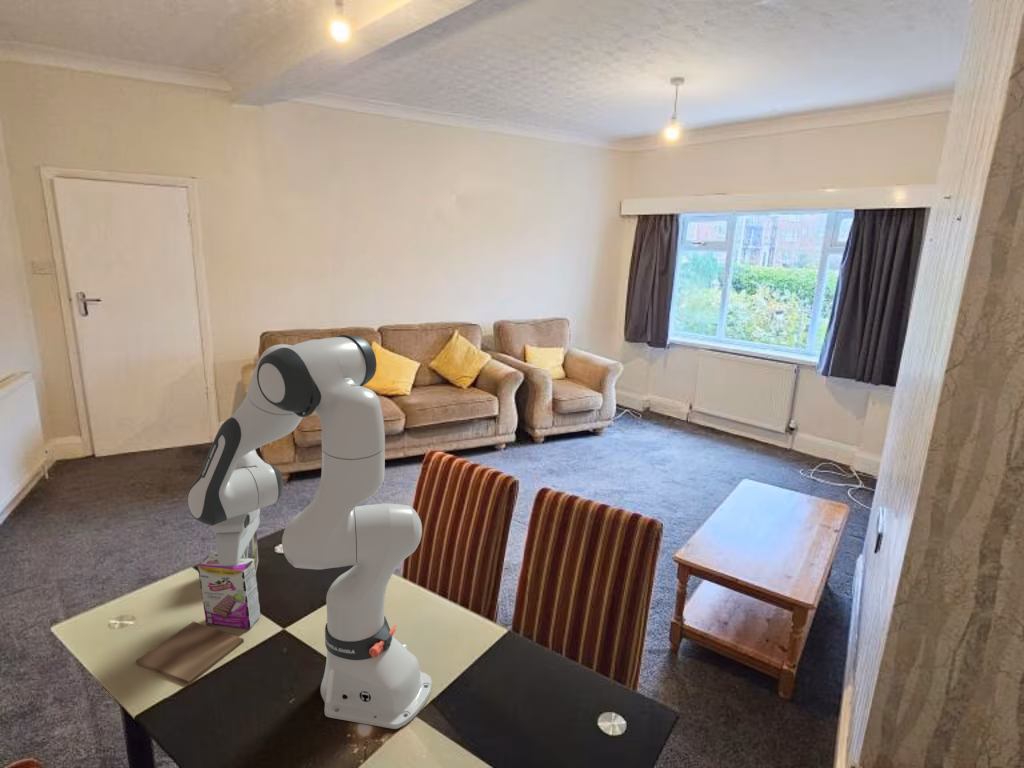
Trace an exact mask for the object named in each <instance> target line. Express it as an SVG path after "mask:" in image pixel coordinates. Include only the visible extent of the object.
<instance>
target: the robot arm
mask: <svg viewBox="0 0 1024 768" xmlns="http://www.w3.org/2000/svg"><path fill="white" fill-rule="evenodd" d="M376 357H377V356H376V355H375V351H374V349H373V347H372V345H370V343H369V342H368V341H367V340H366V339H365V338H363V337H361V336H358V335H352V334H342V335H341V334H340V335H337V336H334V337H325V338H319V339H315V338H314V339H310V340H306V341H302V342H298V343H295V344H292V345H291V344H287V343H283V344H282V343H280V344H279V343H278V344H275V345H272V346H270V347H268V348H267V349H265V350H264V351H263V352H262V354H261V355H260V357H259V359H258V360H257V361H258V362H257V363H256V365H255V368H254V370H253V373H252V375H251V377H250V381H249V385H248V389H247V391H246V392H247V393H246V395H245V397H244V399H243V401H242V403H241V404H240V405H239V407H238V408H237V409H236V410H235V412H234V413H233V414H232V415H231V416H230V417H229V418H228V419H226V420H225V421H224V422H222V424H221V425H220V426H219V429H218V431H217V433H216V434H215V436H214V440H213V441H212V444H211V447H210V449H209V451H208V454H207V456H206V459H205V461H204V463H203V465H202V468H201V470H200V473H199V475H198V476H197V477H196V479H195V480H194V481H193V483H192V484H191V486H190V488H189V490H188V492H187V506H188V510H189V513H190V515H191V516H192V518H193V519H195V520H196V521H198V522H200V523H203V524H205V525H208V526H212V527H211V528H212V533H213V534H215V548H216V555H217V556H218V561H219V563H220V565H221V566H235V565H237V564H238V562H239V561H240V559H241V558H248V548H249V542H250V541H251V539H252V537H253V535H254V533H255V532H257V530H258V528H259V526H260V523H261V522H260V521H261V520H260V513H261V509H263V508H267V507H269V506H272V505H273V504H276V503H277V502H278V501H279V500H280V498H281V496H282V494H283V491H284V479H283V474H282V472H281V470H280V469H279V468H277V467H276V466H275V465H273V464H270V463H268V462H265V461H264V460H263V459H262V458H261V457H260V456H259V455H258V453H257V449H259V448H260V447H263V446H265V445H267V444H271V443H273V442H276V441H278V440H280V439H283V438H285V437H286V436H288V435H289V434H291V433H293V431H295V429H297V427H298V426H299V424H300V423H301V421H302V419H303V418H307V417H309V416H311V415H312V414H313V413H315V415H316V416H317V417H318V419H319V421H320V426H321V427H320V428H321V475H320V483H319V487H318V490H317V492H316V494H315V496H314V497H313V498H312V500H311V501H310V503H309V504H308V505H306V507H305V508H304V509H303V510H301V511H300V512H299V513H297V514H296V515H294V516H293V517H292V518H291V519H290V521H289V522H288V523H287V525H286V527H285V528H284V531H283V534H282V538H281V546H282V552H283V555H284V557H285V559H286V560H287V562H289V564H290V565H291V566H293V567H294V568H296V569H305V570H326V569H327V570H328V569H333V568H341V567H348V566H352V567H351V568H350V569H348V570H347V571H345V572H344V573H342V574H340V575H339V576H337V578H336V579H335V580H334V581H333V582H332V583H331V585H330V586H329V588H328V591H327V593H326V597H325V601H326V623H325V626H324V627H325V628H324V642H325V644H324V645H325V647H326V660H325V661H326V662H325V669H324V672H323V673H324V674H323V678H322V681H321V684H320V690H319V691H320V695H321V698H322V700H323V703H324V709H323V710H324V711H323V712H324V713H323V714H324V715H325V717H327V718H331V719H337V720H343V721H347V722H353V723H359V724H364V725H370V726H377V727H381V728H387V729H393V730H397V729H399V728H402V727H403V726H405V725H407V724H408V723H410V722H411V721H413V719H414V718H415V717H417V715H418V714H419V713H420V712H421V710H422V708H423V707H425V704H426V703H427V701H428V699H429V697H430V696H431V695H430V694H431V691H432V687H433V683H432V677H431V676H430V675H429V674H427V673H426V672H424V671H421V667H420V664H419V660H418V658H417V657H416V656H415V655H414V654H413V653H412V652H411V651H410V649H409V647H408V645H407V644H405V643H401V642H399V640H397V638H396V637H394V634H395V633H396V631H397V629H396V627H397V625H396V624H395V625H394V626H393V627H392V628H390V625H389V623H388V620H387V617H386V616H385V606H386V605H385V602H386V593H387V592H386V591H387V587H388V585H389V582H390V579H391V577H392V575H393V574H394V572H395V571H396V570H397V568H398V566H400V565H401V563H403V562H404V561H405V560H406V559H407V558H408V557H409V556H411V555H413V554H414V552H416V550H417V548H418V546H419V544H420V542H421V539H422V535H423V525H422V521H421V518H420V516H419V514H418V513H417V511H416V510H415V508H414V507H412V506H411V505H409V504H401V503H392V502H391V503H389V502H385V503H376V504H365V505H359V504H361V503H363V502H365V501H366V500H369V499H370V498H371V497H373V496H374V495H375V494H376V493H377V492H378V491H379V489H380V488H381V486H382V484H383V483H384V480H385V473H386V472H385V471H386V470H385V468H386V467H385V465H386V462H385V460H386V455H385V453H386V434H385V424H384V423H385V422H384V416H383V410H382V406H381V401H380V398H379V396H378V395H377V394H376V392H375V391H374V390H372V389H370V388H368V387H365V386H366V385H367V384H368V383H369V382H370V381H371V380H373V378H374V376H375V375H376V371H377V358H376Z"/></svg>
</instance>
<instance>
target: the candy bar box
mask: <svg viewBox="0 0 1024 768" xmlns="http://www.w3.org/2000/svg"><path fill="white" fill-rule="evenodd" d="M197 571H198V577H199V584H200V590H201V597H202V603H203V611H204V617H205V624H206V625H212V626H220V627H229V628H238V629H244V630H245V629H246V630H251V629H252V628H253V626H254V625H255V624H256V623H257V621H258V620H259V619H260V617H261V615H262V614H261V607H260V606H261V605H260V599H259V590H258V589H259V588H258V581H257V580H258V579H257V570H256V569H255V560H254V559H250V558H241V559H240V561H239V562H238V564H237V565H235V566H221V565H220V563H219V561H218V556H217V553H216V554H214V553H209V554H208V555H207V556H206V557H205V558H204V559H203V560H202V561H201V562H200V563H199V564H198V565H197Z"/></svg>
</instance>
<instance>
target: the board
mask: <svg viewBox="0 0 1024 768" xmlns="http://www.w3.org/2000/svg"><path fill="white" fill-rule="evenodd" d="M243 643H244V638H242V637H239V636H237V635H234V634H230V633H228V632H226V631H223V630H219V629H217V628H213V627H211V626H208V625H205V624H203V623H199V622H196V621H192V622H190V623H189V624H187V625H185V626H184V627H183V628H182V629H179V631H177V632H175V633H174V634H173V635H171V636H169V637H168V638H167V639H165V640H163V641H162V642H161V643H159V644H158V645H156V646H154V647H153V648H151V649H150V650H149V651H147V652H146V653H145V654H143V655H142V656H140V657H138V658H137V659H136V660H135V664H136V665H138V666H141V667H144V668H146V669H149V670H150V671H153V672H156V673H158V674H162V675H164V676H166V677H169V678H171V679H174V680H176V681H178V682H181V683H184V684H186V685H189V686H190V685H191V684H192V683H194V682H195V681H196V680H198V678H200V677H201V676H202V675H203V674H205V673H206V672H208V671H209V670H210V669H212V668H213V667H214V666H215V665H216V664H218V663H219V662H220V661H221V660H223V659H224V658H225V657H226V656H228V655H229V654H231V653H232V652H233V651H234V650H235V649H237V648H238V647H239V646H241V645H242V644H243Z"/></svg>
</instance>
